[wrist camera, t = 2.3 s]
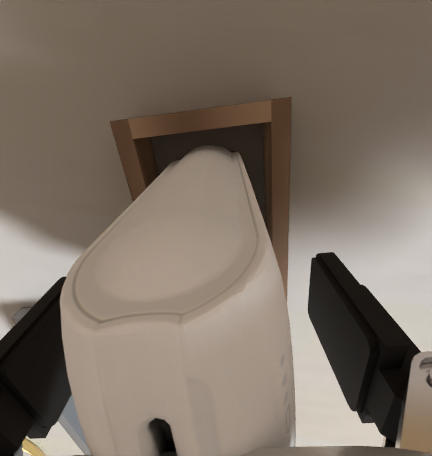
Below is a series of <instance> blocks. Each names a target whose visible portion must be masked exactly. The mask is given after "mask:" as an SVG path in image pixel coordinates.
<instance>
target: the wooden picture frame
mask: <svg viewBox="0 0 432 456" xmlns="http://www.w3.org/2000/svg"><path fill="white" fill-rule="evenodd" d="M256 123H263V148H264V185H265V222H266V229H267V232H268V235H269V237H270V240H271V243H272V247H273V250H274V253H275V257H276V260H277V263H278V267H279V270H280V273H281V277H282V282H283V287H284V292H285V297H286V302H287V277H288V231H289V185H290V140H291V97H288V98H280V99H273V100H266V101H258V102H251V103H243V104H236V105H228V106H221V107H214V108H206V109H199V110H191V111H184V112H177V113H169V114H162V115H154V116H147V117H139V118H132V119H125V120H117V121H110V124H111V127H112V131H113V134H114V138H115V141H116V145H117V148H118V151H119V155H120V158H121V162H122V165H123V168H124V172H125V175H126V179H127V182H128V186H129V189H130V192H131V196H132V199H133V202H134V201H135V200H136V199H137V197H139V196H140V195H141V194H142V193H143V192H144V190H145V189H146V188H147V187H148V186H149V185H150V184H151V183H152V182H153V181H154V180H155V179H156V178H157V177H158V176H159V173H158V169H157V164H156V160H155V156H154V151H153V147H152V142H151V138H150V137H153V136H161V135H169V134H177V133H185V132H193V131H200V130H208V129H216V128H224V127H232V126H240V125H248V124H256Z"/></svg>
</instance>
